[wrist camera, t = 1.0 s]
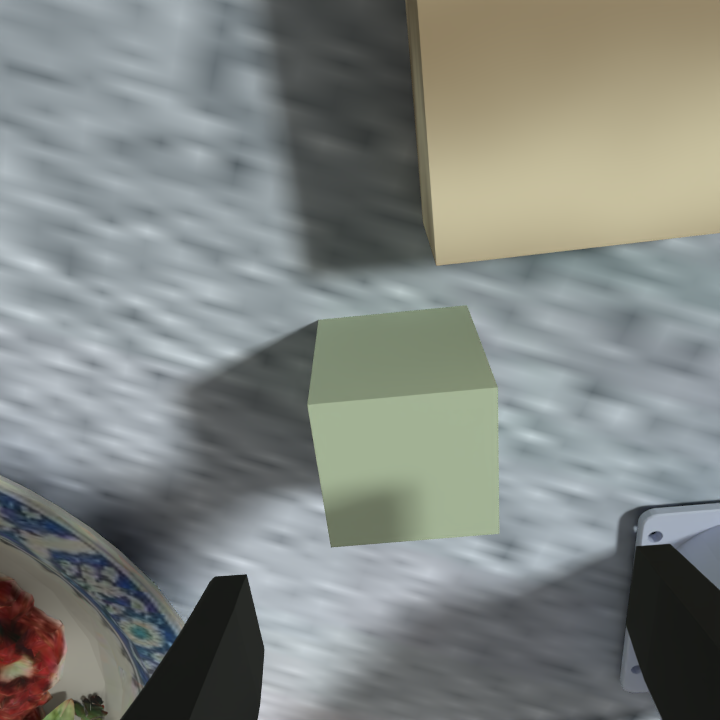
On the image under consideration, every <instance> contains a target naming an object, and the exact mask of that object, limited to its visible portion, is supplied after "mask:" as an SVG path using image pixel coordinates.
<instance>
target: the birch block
mask: <svg viewBox="0 0 720 720" xmlns="http://www.w3.org/2000/svg"><path fill="white" fill-rule="evenodd" d="M405 3H406V15H407V28H408V40H409V53H410V65H411V78H412V91H413V103H414V116H415V128H416V141H417V153H418V166H419V179H420V191H421V204H422V216H423V224H424V228H425V231H426V234H427V237H428V240H429V244H430V247H431V250H432V253H433V256H434V260H435V263H436V266H439V265H448V264H456V263H465V262H473V261H482V260H491V259H499V258H508V257H516V256H525V255H534V254H542V253H551V252H559V251H568V250H577V249H585V248H594V247H602V246H611V245H620V244H628V243H637V242H645V241H654V240H663V239H671V238H680V237H688V236H697V235H706V234H714V233H720V0H405Z"/></svg>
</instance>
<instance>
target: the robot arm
mask: <svg viewBox="0 0 720 720" xmlns="http://www.w3.org/2000/svg"><path fill="white" fill-rule="evenodd" d="M655 531H657V532H656V533H654V534H652V535H649V534H650V533H652V532H655ZM263 662H264V645H263V641H262V637H261V633H260V628H259V624H258V620H257V616H256V612H255V607H254V603H253V599H252V595H251V591H250V586H249V582H248V578H247V574H245V575H232V576H218V577H214V578H213V579H212V580H211V581H210V583H209V584H208V586H207V588H206V590H205V591H204V593H203V595H202V596H201V598H200V600H199V602H198V603H197V605H196V607H195V608H194V610H193V612H192V613H191V615H190V617H189V618H188V620H187V622H186V623H185V625H184V627H183V628H182V630H181V631H180V633H179V635H178V636H177V638H176V639H175V641H174V643H173V644H172V646H171V647H170V649H169V650H168V652H167V653H166V655H165V656H164V658H163V659H162V661H161V662H160V664H159V665H158V667H157V668H156V670H155V671H154V673H153V674H152V676H151V677H150V679H149V680H148V682H147V683H146V685H145V686H144V687H143V689H142V690H141V692H140V693H139V694H138V696H137V697H136V698H135V700H134V701H133V703H132V704H131V705H130V707H129V708H128V709H127V711H126V712H125V714H124V715H123V716H122V718H121V719H120V720H257V719H258V713H259V708H260V699H261V688H262V676H263ZM620 682H621V684H622V687H623V689H624V690H625V691H627V692H630V693H642V692H649V693H650V696H651V698H652V700H653V703H654V705H655V707H656V710H657V712H658V714H659V717H660V719H661V720H720V503H713V504H700V505H688V506H676V507H664V508H653V509H649V510H647V511H645V512H643V514H642V515H641V516H640V518H639V520H638V529H637V537H636V546H635V554H634V563H633V572H632V580H631V588H630V596H629V604H628V612H627V619H626V632H625V640H624V649H623V657H622V666H621V675H620Z"/></svg>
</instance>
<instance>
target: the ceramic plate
mask: <svg viewBox="0 0 720 720" xmlns="http://www.w3.org/2000/svg"><path fill="white" fill-rule="evenodd" d="M184 625H185V623H184V622H183V620H182V619H181V618H180V616H179V615H178V614H177V612H176V611H175V610H174V608H173V607H172V606H171V604H170V603H169V602H168V600H167V599H166V598H165V596H164V595H163V594H162V593H161V591H160V590H159V589H158V587H157V586H156V585H155V584H154V583H153V582H152V581H151V580H150V579H149V578H148V577H147V576H146V575H145V574H144V573H143V572H141V571H140V570H139V569H138V568H137V567H136V566H135V565H134V564H133V563H132V562H131V561H130V560H129V559H128V558H127V557H126V556H125V555H124V554H123V553H122V552H121V551H120V550H118V549H117V548H116V547H115V546H113V545H112V544H111V543H109V542H108V541H107V540H106V539H104V538H103V537H102V536H101V535H99V534H98V533H97V532H95V531H94V530H93V529H92V528H90V527H89V526H87V525H86V524H84V523H83V522H81V521H80V520H78V519H77V518H75V517H74V516H72V515H71V514H69V513H68V512H66V511H65V510H63V509H62V508H60V507H59V506H57V505H55V504H54V503H52V502H50V501H48V500H47V499H45V498H43V497H41V496H40V495H38V494H36V493H34V492H33V491H31V490H29V489H27V488H26V487H24V486H22V485H20V484H18V483H16V482H13V481H11V480H9V479H7V478H5V477H3V476H1V475H0V720H120V719H121V718H122V716H123V715H124V714H125V712H126V711H127V709H128V708H129V707H130V705H131V704H132V703H133V701H134V700H135V698H136V697H137V696H138V694H139V693H140V692H141V690H142V689H143V687H144V686H145V685H146V683H147V682H148V680H149V679H150V677H151V676H152V674H153V673H154V671H155V670H156V668H157V667H158V665H159V664H160V662H161V661H162V659H163V658H164V656H165V655H166V653H167V652H168V650H169V649H170V647H171V646H172V644H173V643H174V641H175V639H176V638H177V636H178V635H179V633H180V631H181V630H182V628H183V627H184Z"/></svg>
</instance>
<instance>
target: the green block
mask: <svg viewBox="0 0 720 720" xmlns="http://www.w3.org/2000/svg"><path fill="white" fill-rule="evenodd" d="M307 406H308V412H309V418H310V424H311V430H312V436H313V442H314V448H315V454H316V460H317V466H318V472H319V478H320V484H321V490H322V496H323V502H324V508H325V514H326V520H327V526H328V532H329V538H330V544H331V547H341V546H353V545H366V544H378V543H390V542H402V541H415V540H427V539H439V538H452V537H464V536H476V535H489V534H499V464H498V387H497V384H496V381H495V379H494V376H493V374H492V371H491V368H490V366H489V363H488V360H487V358H486V355H485V352H484V350H483V347H482V344H481V342H480V339H479V336H478V334H477V331H476V328H475V326H474V323H473V320H472V318H471V315H470V312H469V310H468V307H467V305H466V306H456V307H446V308H435V309H425V310H415V311H405V312H394V313H384V314H374V315H364V316H353V317H343V318H333V319H323V320H318V328H317V335H316V343H315V350H314V358H313V365H312V373H311V381H310V388H309V396H308V403H307Z"/></svg>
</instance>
